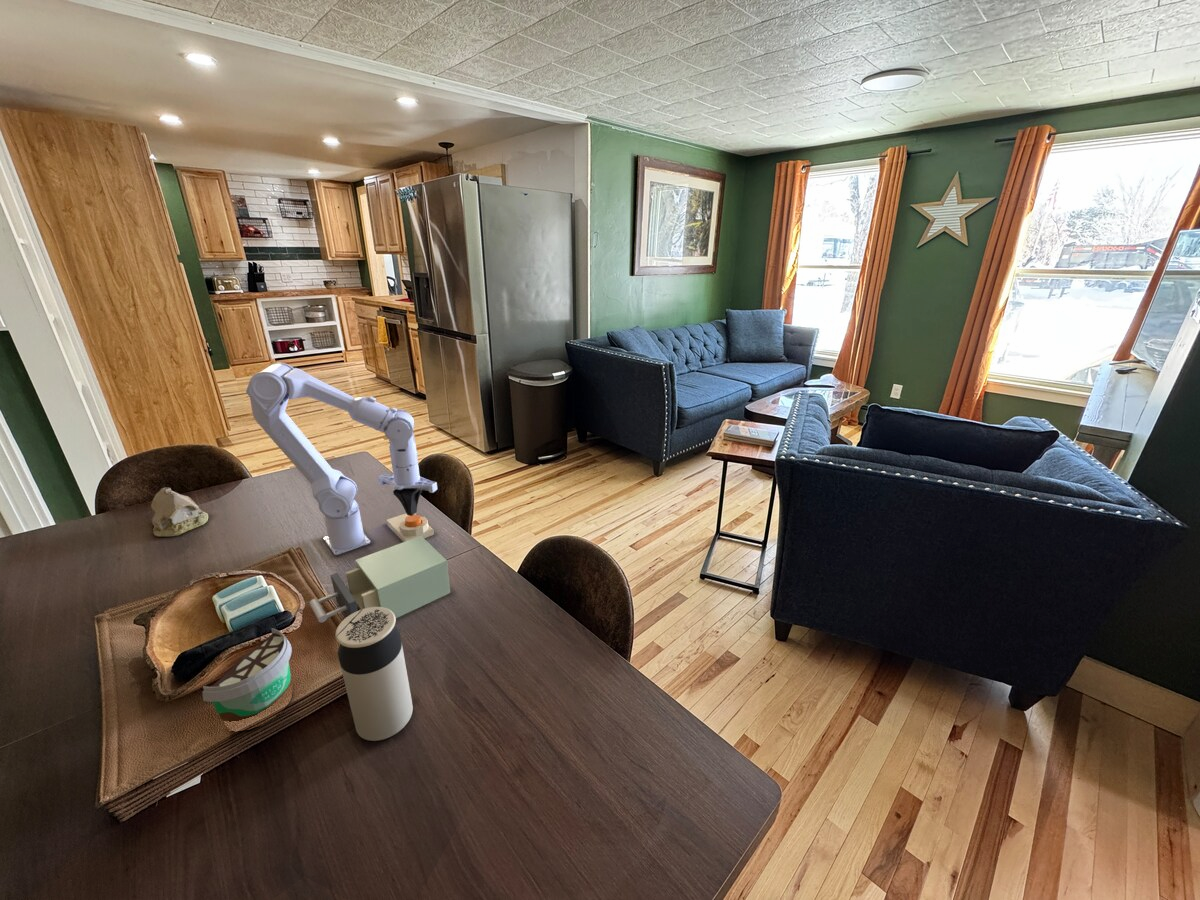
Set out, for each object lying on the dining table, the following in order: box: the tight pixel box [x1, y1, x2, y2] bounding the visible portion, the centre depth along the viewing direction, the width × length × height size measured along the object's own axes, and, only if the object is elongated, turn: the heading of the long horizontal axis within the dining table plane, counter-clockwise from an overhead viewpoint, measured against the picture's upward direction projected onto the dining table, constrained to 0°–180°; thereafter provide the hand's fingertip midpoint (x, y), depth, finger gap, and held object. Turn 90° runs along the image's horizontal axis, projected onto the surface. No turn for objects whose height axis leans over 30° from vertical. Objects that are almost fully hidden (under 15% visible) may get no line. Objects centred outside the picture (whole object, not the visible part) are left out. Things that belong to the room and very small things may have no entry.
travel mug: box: [335, 607, 414, 742], centre depth 68 cm, size 8×8×18 cm
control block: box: [386, 512, 435, 543], centre depth 119 cm, size 12×7×4 cm, turn 43°
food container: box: [202, 628, 293, 722], centre depth 71 cm, size 12×6×10 cm, turn 168°
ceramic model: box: [150, 486, 209, 537], centre depth 118 cm, size 14×11×10 cm
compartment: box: [309, 567, 380, 624], centre depth 91 cm, size 17×11×6 cm, turn 133°
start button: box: [405, 513, 422, 527], centre depth 116 cm, size 4×4×2 cm
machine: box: [355, 536, 451, 619], centre depth 96 cm, size 14×12×8 cm
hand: (411, 513), depth 116 cm, fingers closed
